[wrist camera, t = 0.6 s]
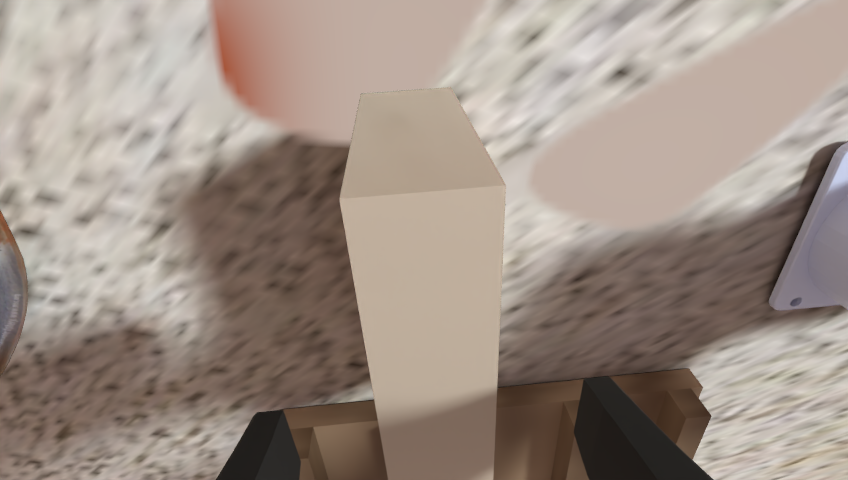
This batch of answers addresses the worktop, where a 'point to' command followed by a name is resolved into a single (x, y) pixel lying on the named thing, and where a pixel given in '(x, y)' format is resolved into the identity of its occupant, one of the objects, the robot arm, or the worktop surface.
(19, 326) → the tin
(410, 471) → the beige rectangular board
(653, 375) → the rack
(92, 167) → the worktop surface
